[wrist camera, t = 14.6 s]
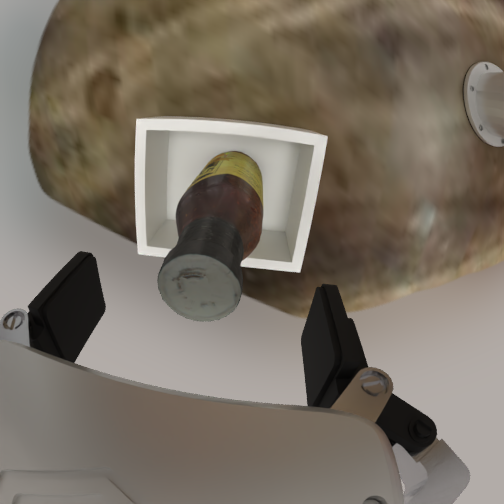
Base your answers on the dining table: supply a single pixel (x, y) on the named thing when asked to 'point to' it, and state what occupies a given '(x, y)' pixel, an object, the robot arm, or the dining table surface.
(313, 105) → the dining table surface
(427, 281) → the dining table surface
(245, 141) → the storage box
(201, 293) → the sauce bottle
